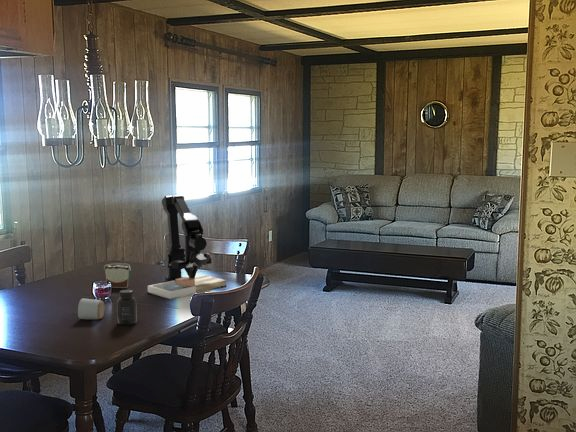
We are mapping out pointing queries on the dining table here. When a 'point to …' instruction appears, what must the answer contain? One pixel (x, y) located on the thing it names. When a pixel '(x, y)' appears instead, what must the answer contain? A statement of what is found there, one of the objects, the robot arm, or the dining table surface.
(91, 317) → the white cylinder
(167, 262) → the robot arm
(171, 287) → the slate tile
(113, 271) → the food container
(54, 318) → the dining table surface
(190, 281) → the terracotta tile
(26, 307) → the dining table surface
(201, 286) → the birch plate
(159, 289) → the box
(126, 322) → the supplement bottle
